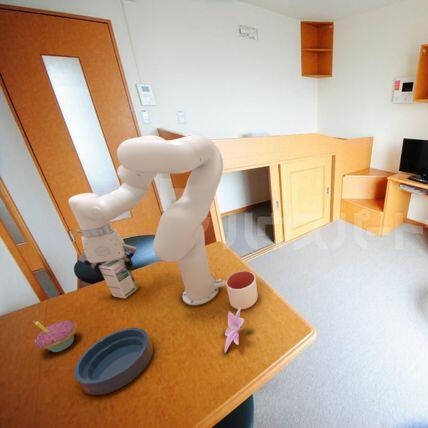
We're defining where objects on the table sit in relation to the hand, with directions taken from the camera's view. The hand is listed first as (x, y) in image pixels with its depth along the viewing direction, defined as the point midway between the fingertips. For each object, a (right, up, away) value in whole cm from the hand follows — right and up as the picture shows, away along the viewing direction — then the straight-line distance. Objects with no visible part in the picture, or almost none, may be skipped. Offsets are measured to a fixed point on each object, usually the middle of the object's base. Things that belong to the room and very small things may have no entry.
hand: (116, 271), depth 87 cm
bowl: (+19, -22, -21) cm, 35 cm away
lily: (+49, -18, -12) cm, 53 cm away
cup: (+47, -12, +2) cm, 48 cm away
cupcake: (-3, -19, -15) cm, 24 cm away
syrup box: (0, -10, +5) cm, 11 cm away
